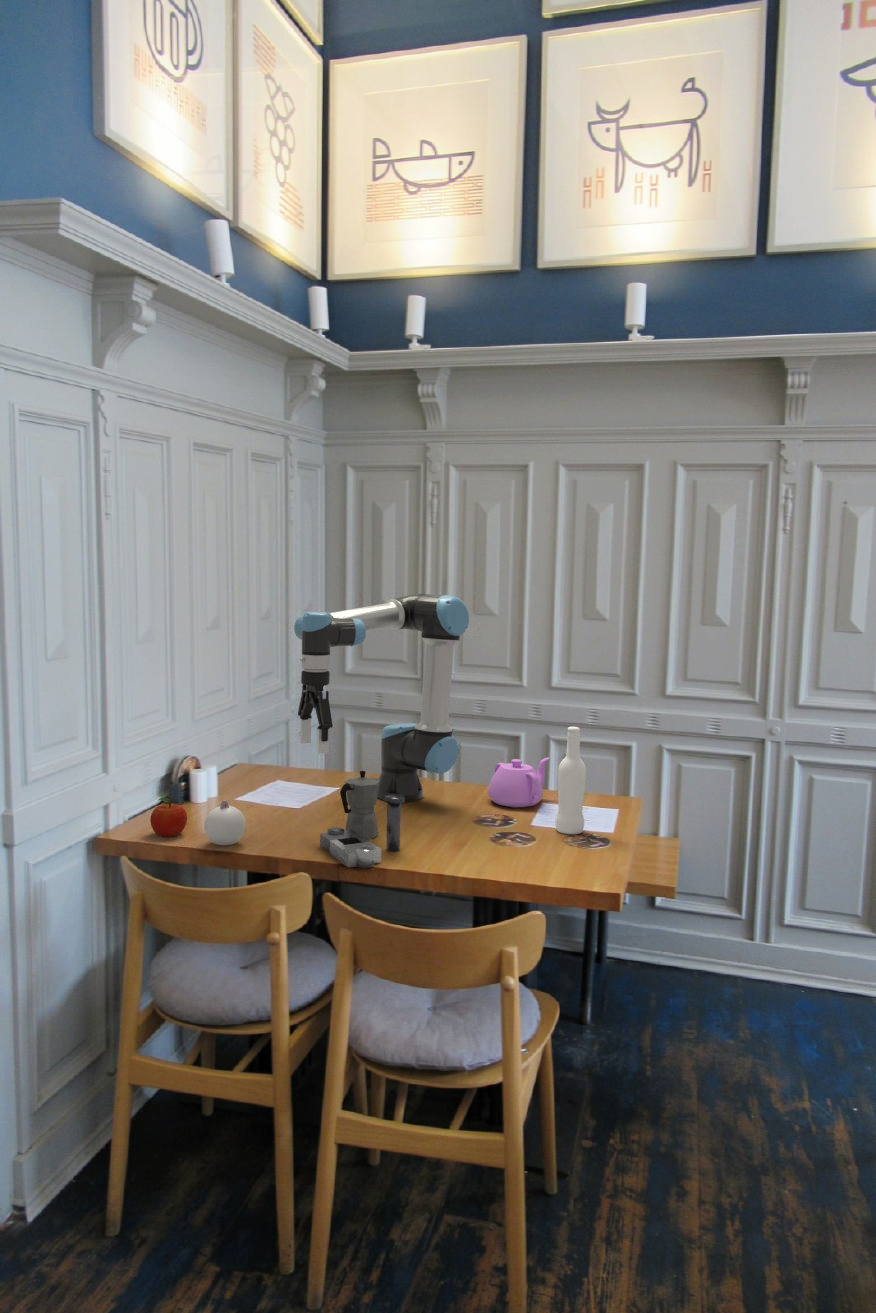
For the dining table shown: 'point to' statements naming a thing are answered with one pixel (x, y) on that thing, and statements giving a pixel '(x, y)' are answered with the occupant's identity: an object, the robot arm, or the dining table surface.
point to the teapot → (517, 784)
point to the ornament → (224, 824)
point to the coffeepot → (361, 805)
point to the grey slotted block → (350, 848)
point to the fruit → (168, 819)
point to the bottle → (571, 787)
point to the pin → (393, 821)
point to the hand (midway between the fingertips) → (314, 747)
